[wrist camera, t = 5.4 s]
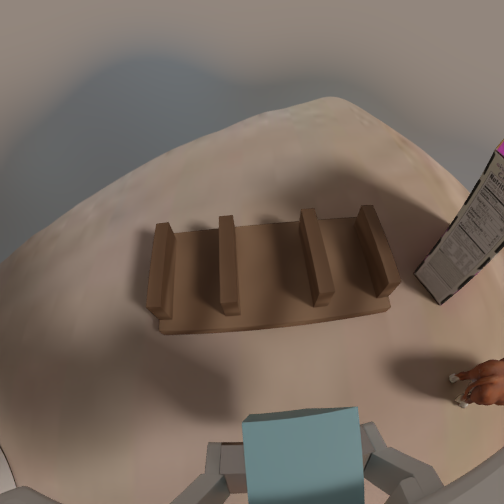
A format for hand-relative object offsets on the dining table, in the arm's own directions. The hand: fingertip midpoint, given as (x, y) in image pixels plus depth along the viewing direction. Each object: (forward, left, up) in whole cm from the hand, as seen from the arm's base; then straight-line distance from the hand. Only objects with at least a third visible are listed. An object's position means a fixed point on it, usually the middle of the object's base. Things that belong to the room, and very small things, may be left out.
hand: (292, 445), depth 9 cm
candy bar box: (+21, +12, -11) cm, 27 cm away
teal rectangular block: (0, -1, -6) cm, 6 cm away
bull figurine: (+21, -3, -11) cm, 24 cm away
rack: (+1, +13, -11) cm, 17 cm away
